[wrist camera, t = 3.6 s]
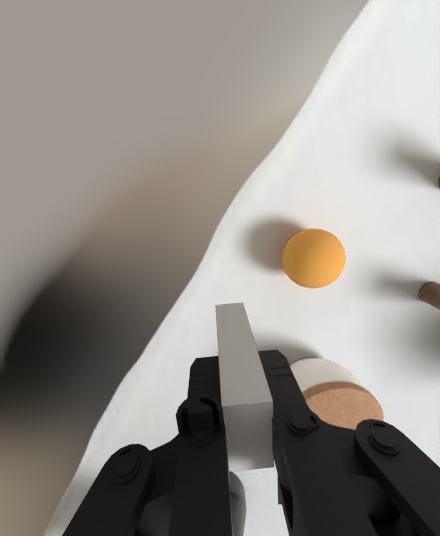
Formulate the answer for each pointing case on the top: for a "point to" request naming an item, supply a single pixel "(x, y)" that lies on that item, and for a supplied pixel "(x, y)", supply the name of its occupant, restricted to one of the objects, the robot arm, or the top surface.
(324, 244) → the ball
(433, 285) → the post
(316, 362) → the lidded jar
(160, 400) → the top surface
